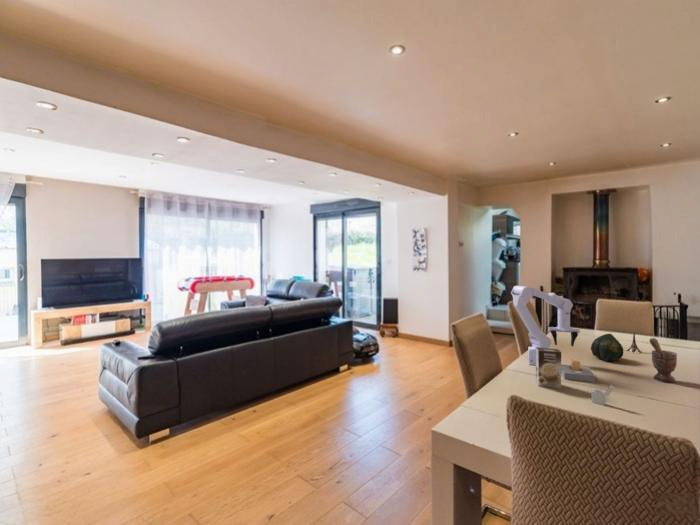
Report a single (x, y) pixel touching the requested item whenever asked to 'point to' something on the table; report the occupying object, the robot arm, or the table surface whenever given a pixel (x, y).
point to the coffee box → (548, 367)
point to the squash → (607, 348)
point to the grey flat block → (577, 373)
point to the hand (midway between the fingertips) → (563, 345)
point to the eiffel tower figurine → (634, 345)
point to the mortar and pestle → (663, 362)
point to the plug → (575, 364)
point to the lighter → (600, 395)
